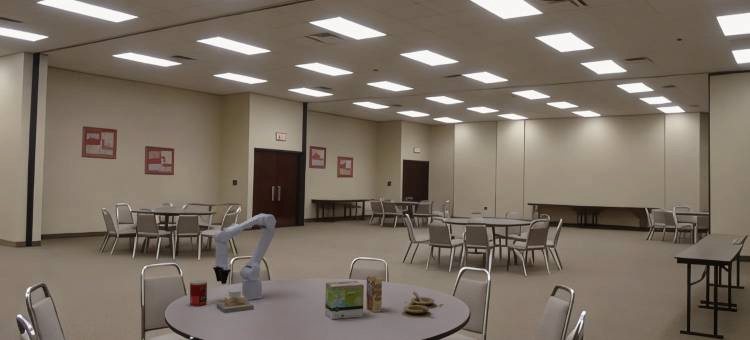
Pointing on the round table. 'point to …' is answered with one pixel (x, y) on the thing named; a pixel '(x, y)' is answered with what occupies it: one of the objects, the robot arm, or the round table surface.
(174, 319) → the round table surface
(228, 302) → the pallet
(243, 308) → the dock
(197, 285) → the canned food
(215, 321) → the round table surface
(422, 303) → the tableware set
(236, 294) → the grey block
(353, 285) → the tea box
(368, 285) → the candy box
